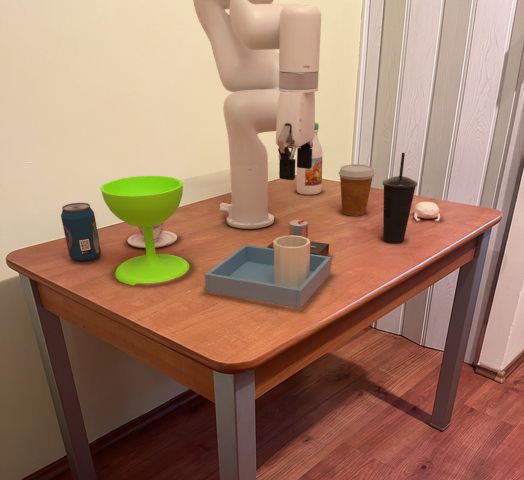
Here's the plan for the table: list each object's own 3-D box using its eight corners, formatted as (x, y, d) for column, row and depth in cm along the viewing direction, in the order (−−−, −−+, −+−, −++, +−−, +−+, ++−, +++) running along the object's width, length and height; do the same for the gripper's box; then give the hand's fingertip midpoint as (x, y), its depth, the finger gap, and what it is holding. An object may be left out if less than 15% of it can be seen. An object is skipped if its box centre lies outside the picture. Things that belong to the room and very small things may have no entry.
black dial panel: (265, 260, 119) (265, 247, 117) (280, 248, 125) (280, 235, 124) (317, 268, 115) (317, 254, 113) (329, 255, 121) (330, 242, 119)
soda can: (68, 256, 123) (57, 204, 117) (99, 251, 125) (90, 200, 119) (72, 266, 118) (60, 212, 111) (104, 261, 120) (94, 208, 114)
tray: (205, 293, 105) (204, 274, 103) (245, 262, 118) (244, 244, 116) (300, 311, 98) (300, 290, 95) (330, 275, 111) (331, 256, 109)
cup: (268, 289, 105) (267, 244, 100) (281, 276, 110) (281, 233, 105) (301, 294, 102) (302, 249, 98) (313, 281, 107) (314, 237, 103)
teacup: (117, 241, 131) (113, 216, 128) (157, 229, 139) (154, 205, 135) (147, 253, 124) (144, 227, 121) (187, 239, 132) (185, 214, 128)
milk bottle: (295, 194, 165) (296, 125, 155) (297, 188, 172) (299, 121, 161) (320, 195, 164) (323, 125, 154) (322, 189, 170) (324, 121, 160)
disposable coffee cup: (376, 210, 150) (380, 166, 143) (362, 219, 143) (366, 173, 137) (345, 206, 154) (348, 162, 148) (330, 214, 147) (332, 169, 141)
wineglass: (125, 257, 122) (113, 175, 113) (195, 256, 122) (188, 175, 112) (105, 286, 108) (89, 196, 99) (184, 286, 108) (175, 196, 99)
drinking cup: (410, 246, 125) (422, 157, 115) (376, 244, 127) (385, 156, 116) (409, 235, 132) (420, 150, 121) (377, 234, 133) (385, 149, 123)
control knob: (300, 249, 116) (301, 225, 113) (285, 245, 118) (285, 222, 115) (310, 244, 119) (311, 220, 116) (295, 240, 121) (296, 217, 118)
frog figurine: (441, 222, 140) (443, 207, 138) (415, 221, 141) (416, 207, 139) (436, 213, 147) (438, 199, 145) (411, 212, 148) (413, 198, 146)
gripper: (296, 76, 111) (294, 162, 120) (262, 86, 97) (262, 182, 107) (331, 78, 108) (326, 165, 117) (300, 88, 95) (297, 186, 104)
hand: (295, 173), depth 112 cm, fingers open, 9 cm apart
